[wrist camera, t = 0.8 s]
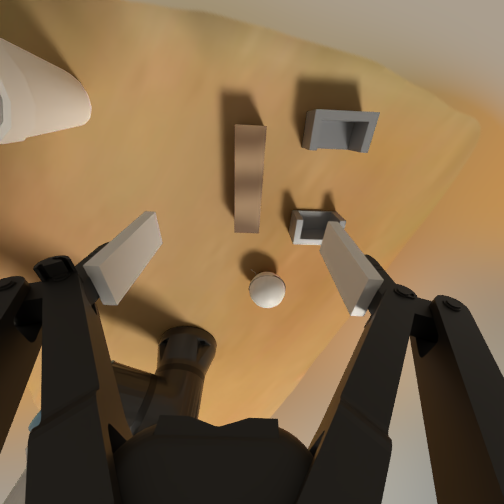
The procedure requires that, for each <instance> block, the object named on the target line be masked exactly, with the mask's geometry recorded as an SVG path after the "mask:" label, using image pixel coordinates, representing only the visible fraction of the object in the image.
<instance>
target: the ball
mask: <svg viewBox="0 0 504 504" xmlns="http://www.w3.org/2000/svg"><path fill="white" fill-rule="evenodd" d="M252 271H253V270H252ZM253 272H254V271H253ZM254 273H255V272H254ZM249 293H250V296H251V299H252V300H253V301H254V302H255V303H256V304H257V305H258V306H260V307H264V308H272V307H274V306H276V305H278V304H279V303H280V302H281V301H282V299H283V297H284V295H285V284H284V282H283V280H282V279H281V278H280V277H279V276H278V275H276V274H275V273H272V272H261V273H259V274H257V275H256V276H255V277H254V278H253V279H252V281H251V283H250V286H249Z"/></svg>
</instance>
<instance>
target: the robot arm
mask: <svg viewBox="0 0 504 504" xmlns="http://www.w3.org/2000/svg"><path fill="white" fill-rule="evenodd" d="M161 245H162V238H161V234H160V230H159V225H158V221H157V217H156V212H148V211H145V212H144V213H143V214H142V215H140V216H139V217H138V218H137V219H136V220H135V221H133V222H132V223H131V224H130V225H129V226H128V227H127V228H125V229H124V230H123V231H122V232H121V233H120V234H119V235H117V236H116V237H115V238H114V239H113V240H112V241H110V242H107V243H105V244H103V245H101V246H99V247H98V248H96V249H95V250H94V251H93V252H92V253H90V254H89V255H88V256H87V257H86V258H84V259H83V260H82V261H81V262H80V263H78V264H77V265H76V266H74V265H73V263H72V261H71V259H70V258H69V257H68V256H54V257H50V258H47V259H44V260H42V261H40V262H39V263H37V264H36V265H35V266H34V268H33V269H34V271H35V272H36V274H37V275H38V276H39V278H40V279H41V281H42V282H35V283H28V282H27V281H26V280H25V278H23V277H21V276H13V277H8V278H3V279H1V280H0V453H1V450H2V448H3V445H4V442H5V440H6V437H7V435H8V431H9V429H10V427H11V424H12V422H13V419H14V416H15V414H16V411H17V408H18V406H19V403H20V400H21V398H22V395H23V393H24V390H25V387H26V385H27V382H28V380H29V377H30V374H31V372H32V369H33V367H34V364H35V361H36V359H37V356H38V354H39V351H40V348H41V346H42V382H41V410H40V412H39V413H38V414H37V415H36V416H35V418H34V419H33V420H32V422H31V423H30V425H29V431H30V434H29V439H28V446H27V447H26V458H27V465H26V469H25V470H24V472H23V474H22V475H21V477H20V478H19V480H18V481H17V483H16V484H15V486H14V487H13V489H12V491H11V492H10V494H9V495H8V497H7V498H6V500H5V501H4V503H3V504H381V502H382V497H383V492H384V487H385V482H386V477H387V472H388V467H389V462H390V457H391V451H392V440H391V439H390V437H389V436H388V430H389V425H390V420H391V416H392V412H393V407H394V403H395V398H396V394H397V389H398V385H399V380H400V376H401V371H402V367H403V362H404V358H405V354H406V349H407V344H408V340H409V336H410V340H411V347H412V353H413V359H414V365H415V371H416V377H417V383H418V389H419V395H420V401H421V407H422V413H423V419H424V425H425V430H426V437H427V443H428V449H429V455H430V461H431V467H432V473H433V479H434V485H435V491H436V497H437V503H438V504H504V377H503V375H502V374H501V372H500V370H499V368H498V366H497V364H496V362H495V360H494V358H493V356H492V354H491V352H490V350H489V348H488V346H487V344H486V342H485V340H484V338H483V336H482V334H481V332H480V330H479V328H478V326H477V324H476V322H475V320H474V318H473V317H472V315H471V313H470V311H469V309H468V308H467V307H466V306H465V305H463V304H462V303H461V302H460V301H458V300H456V299H454V298H451V297H449V296H444V295H438V296H436V297H435V298H434V300H433V301H429V300H425V299H421V298H418V297H417V295H416V294H415V293H414V292H413V291H412V290H411V289H409V288H407V287H405V286H402V285H399V284H396V283H395V282H394V281H393V280H392V279H391V278H390V276H389V275H388V274H387V273H386V272H385V270H384V269H383V268H382V267H381V266H380V264H379V263H378V262H377V261H376V260H375V259H374V258H372V257H371V256H369V255H364V254H363V253H362V251H361V250H360V249H359V248H358V246H357V245H356V244H355V243H354V241H353V240H352V239H351V238H350V236H349V235H348V234H347V232H346V231H345V230H344V229H343V227H342V226H341V225H340V224H339V222H335V221H328V223H327V227H326V230H325V234H324V237H323V241H322V244H321V247H320V253H321V255H322V257H323V259H324V262H325V264H326V266H327V268H328V270H329V272H330V274H331V276H332V278H333V280H334V282H335V284H336V287H337V289H338V291H339V293H340V295H341V297H342V299H343V301H344V303H345V305H346V307H347V309H348V312H349V314H350V316H364V315H365V313H366V311H367V310H369V312H370V313H371V316H370V318H369V320H368V321H367V323H366V325H365V327H364V328H365V329H364V331H363V333H362V335H361V337H360V339H359V342H358V344H357V346H356V348H355V350H354V352H353V355H352V357H351V359H350V361H349V363H348V365H347V368H346V370H345V372H344V374H343V376H342V379H341V381H340V383H339V385H338V387H337V389H336V392H335V394H334V396H333V398H332V400H331V403H330V405H329V407H328V409H327V411H326V413H325V416H324V418H323V420H322V422H321V424H320V426H319V428H318V430H317V432H316V434H315V436H314V438H313V440H312V442H311V444H310V446H309V448H308V449H307V448H306V447H305V445H304V444H302V442H301V441H300V440H298V439H297V438H296V437H295V436H293V435H292V434H291V433H289V432H288V431H286V430H284V429H281V428H279V427H278V419H265V418H247V419H244V420H241V421H237V422H234V423H231V424H227V425H224V426H220V427H216V426H213V425H211V424H208V423H206V422H203V421H201V420H198V415H199V409H200V403H201V397H202V391H203V384H204V379H205V375H206V373H207V371H208V369H209V367H210V364H211V362H212V360H213V358H214V356H215V353H216V341H215V339H214V338H213V337H212V336H211V335H210V334H209V333H208V332H206V331H204V330H202V329H199V328H195V327H188V326H182V327H175V328H172V329H170V330H168V331H166V332H165V333H164V334H163V335H162V337H161V340H160V342H159V345H158V358H157V370H156V372H155V375H154V374H151V373H148V372H145V371H142V370H139V369H135V368H132V367H129V366H126V365H123V364H120V363H117V362H115V361H114V360H112V361H111V359H110V355H109V351H108V348H107V344H106V340H105V336H104V332H103V328H102V324H101V320H100V316H99V312H98V308H97V306H96V304H95V302H96V301H97V299H98V298H99V297H100V299H101V301H102V303H103V305H118V304H119V302H120V301H121V300H122V298H123V297H124V295H125V294H126V293H127V291H128V290H129V289H130V287H131V286H132V284H133V283H134V282H135V280H136V279H137V278H138V276H139V275H140V273H141V272H142V271H143V269H144V268H145V267H146V265H147V264H148V262H149V261H150V260H151V258H152V257H153V256H154V254H155V253H156V251H157V250H158V249H159V247H160V246H161Z"/></svg>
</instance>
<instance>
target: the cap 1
mask: <svg viewBox="0 0 504 504" xmlns="http://www.w3.org/2000/svg"><path fill="white" fill-rule="evenodd" d="M379 114H380V112H362V111H343V110H324V109H315V110H311V111H307V115H306V122H305V128H304V135H303V142H302V148H305V149H308V150H317V148H325V149H346V150H352V151H356V152H363V153H368V150H369V146H370V143H371V140H372V137H373V133H374V130H375V127H376V124H377V120H378V117H379Z"/></svg>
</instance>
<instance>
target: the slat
mask: <svg viewBox="0 0 504 504" xmlns="http://www.w3.org/2000/svg"><path fill="white" fill-rule="evenodd" d="M266 129H267V126H257V125H239V124H235V233H259V224H260V211H261V197H262V183H263V170H264V156H265V142H266Z"/></svg>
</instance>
